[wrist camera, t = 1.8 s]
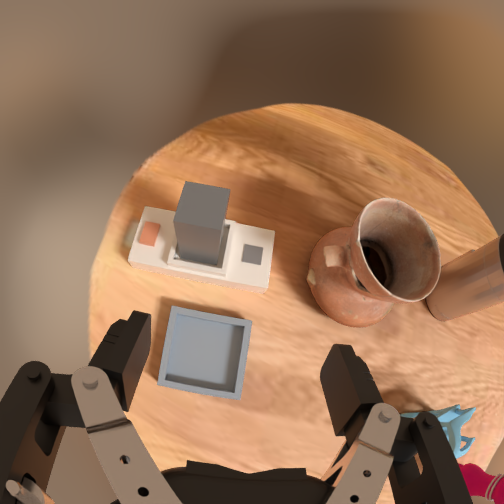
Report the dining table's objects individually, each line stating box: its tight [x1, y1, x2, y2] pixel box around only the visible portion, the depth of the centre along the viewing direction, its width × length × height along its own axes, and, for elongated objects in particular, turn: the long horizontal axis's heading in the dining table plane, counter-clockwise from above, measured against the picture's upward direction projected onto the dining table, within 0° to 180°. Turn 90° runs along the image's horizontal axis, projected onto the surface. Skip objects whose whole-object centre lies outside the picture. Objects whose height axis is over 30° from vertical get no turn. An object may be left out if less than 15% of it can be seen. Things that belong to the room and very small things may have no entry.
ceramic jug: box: [306, 198, 441, 327], centre depth 34 cm, size 18×14×14 cm
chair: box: [400, 405, 476, 458], centre depth 28 cm, size 8×8×12 cm
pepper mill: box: [458, 463, 504, 504], centre depth 20 cm, size 7×7×20 cm
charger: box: [173, 181, 230, 265], centre depth 32 cm, size 5×5×10 cm
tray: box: [157, 306, 252, 400], centre depth 33 cm, size 10×10×2 cm
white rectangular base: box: [128, 206, 275, 294], centre depth 37 cm, size 18×8×4 cm, turn 82°
